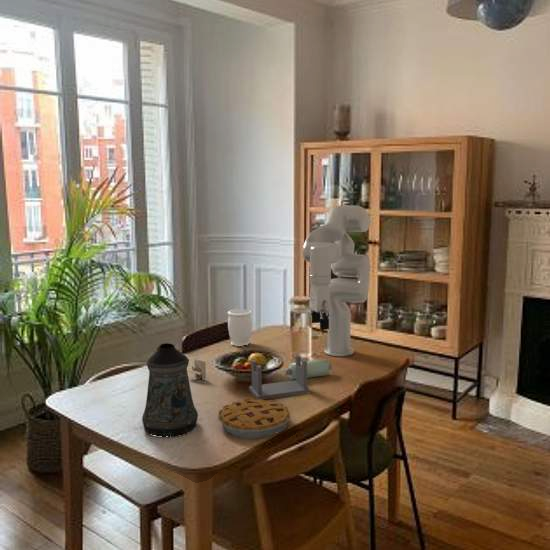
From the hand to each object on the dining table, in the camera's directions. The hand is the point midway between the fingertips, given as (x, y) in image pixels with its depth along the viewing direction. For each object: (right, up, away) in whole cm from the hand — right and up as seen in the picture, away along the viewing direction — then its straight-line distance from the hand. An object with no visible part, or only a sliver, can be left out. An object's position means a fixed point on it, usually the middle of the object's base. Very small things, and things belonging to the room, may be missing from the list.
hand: (320, 325), depth 212 cm
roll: (-4, -20, +6) cm, 21 cm away
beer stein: (-49, -27, -34) cm, 66 cm away
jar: (-32, -13, +47) cm, 58 cm away
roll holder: (-15, -22, -8) cm, 28 cm away
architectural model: (-45, -21, +5) cm, 49 cm away
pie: (-23, -27, -35) cm, 50 cm away
